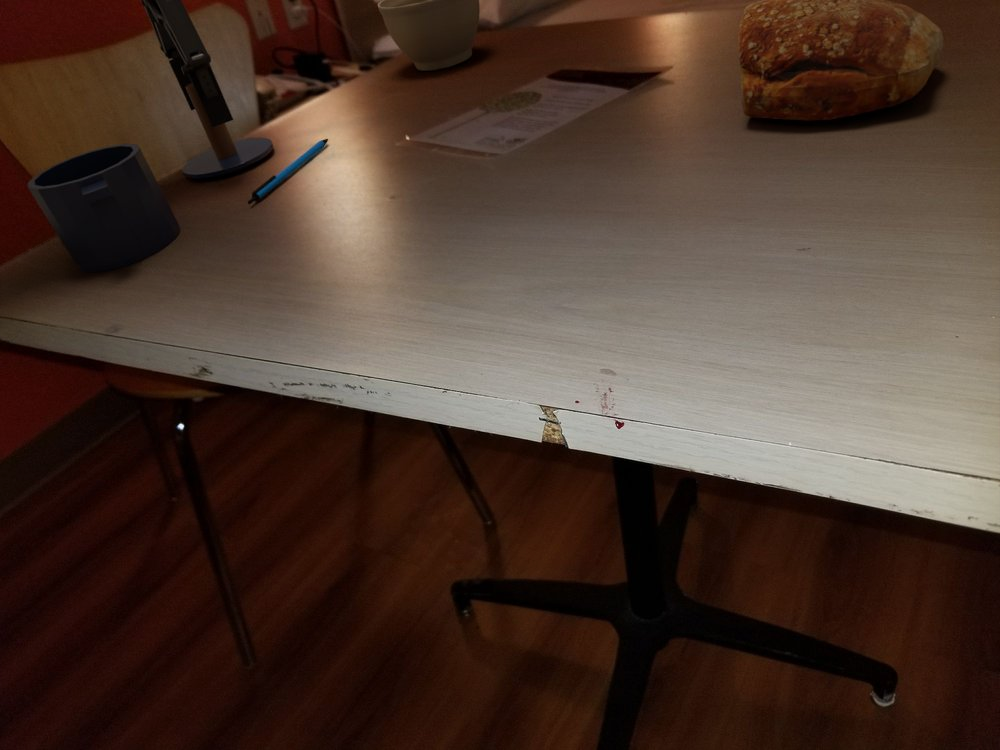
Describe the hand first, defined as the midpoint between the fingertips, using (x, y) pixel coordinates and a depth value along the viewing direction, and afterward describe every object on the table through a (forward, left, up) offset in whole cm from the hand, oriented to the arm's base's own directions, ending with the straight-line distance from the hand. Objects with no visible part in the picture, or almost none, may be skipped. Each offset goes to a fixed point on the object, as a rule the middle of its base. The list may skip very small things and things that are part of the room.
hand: (211, 114), depth 95 cm
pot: (-16, -17, -7) cm, 24 cm away
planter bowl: (+40, +12, -7) cm, 42 cm away
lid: (0, 0, -6) cm, 6 cm away
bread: (+52, -54, -7) cm, 75 cm away
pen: (+5, -14, -7) cm, 16 cm away
